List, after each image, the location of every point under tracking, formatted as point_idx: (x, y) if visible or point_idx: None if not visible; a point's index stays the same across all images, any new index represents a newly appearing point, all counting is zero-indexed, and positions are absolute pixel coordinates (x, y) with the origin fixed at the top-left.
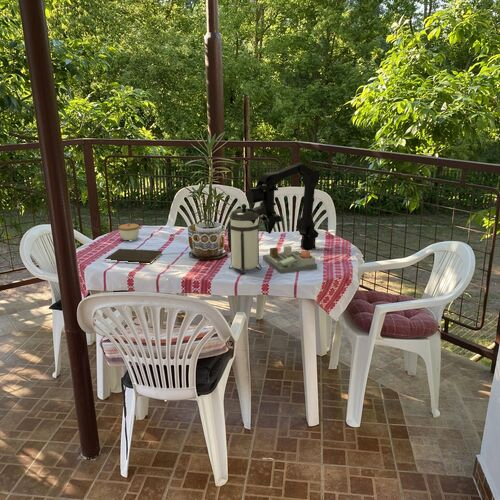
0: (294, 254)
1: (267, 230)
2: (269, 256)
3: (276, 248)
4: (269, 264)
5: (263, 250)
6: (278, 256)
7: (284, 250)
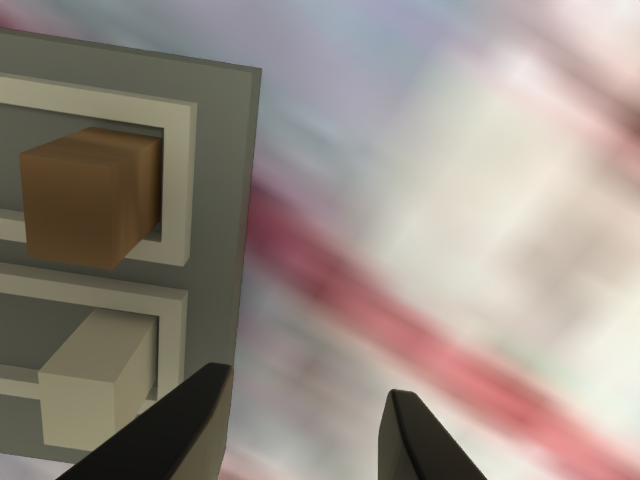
0: None
1: (387, 446)
2: (89, 97)
3: (58, 251)
4: (23, 31)
5: (577, 260)
6: None
7: (107, 347)
